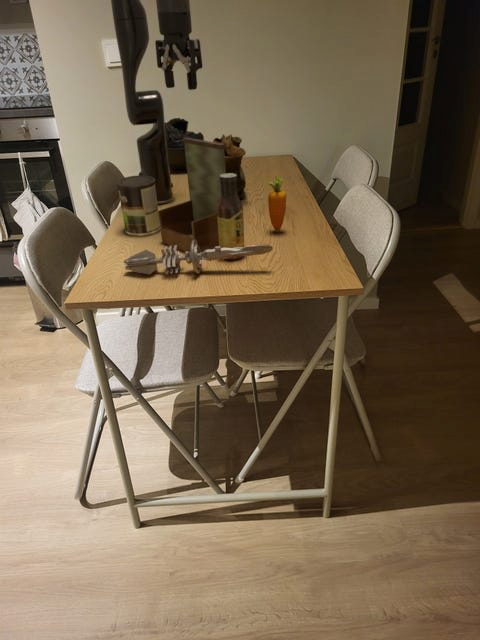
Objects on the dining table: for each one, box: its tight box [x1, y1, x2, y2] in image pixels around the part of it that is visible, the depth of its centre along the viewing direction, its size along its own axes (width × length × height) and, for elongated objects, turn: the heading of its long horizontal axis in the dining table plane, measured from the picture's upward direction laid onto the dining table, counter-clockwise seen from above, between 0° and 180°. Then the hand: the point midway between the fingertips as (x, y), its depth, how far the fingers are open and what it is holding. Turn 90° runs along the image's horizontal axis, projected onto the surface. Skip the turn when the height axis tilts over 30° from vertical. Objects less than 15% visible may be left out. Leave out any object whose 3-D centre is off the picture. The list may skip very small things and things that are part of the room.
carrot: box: [267, 175, 287, 233], centre depth 126 cm, size 5×5×15 cm
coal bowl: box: [165, 117, 205, 170], centre depth 187 cm, size 20×20×19 cm
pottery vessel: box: [212, 134, 247, 199], centre depth 153 cm, size 25×11×20 cm, turn 3°
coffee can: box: [116, 174, 161, 237], centre depth 132 cm, size 10×10×14 cm
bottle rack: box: [158, 138, 226, 253], centre depth 119 cm, size 14×12×25 cm
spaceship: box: [123, 239, 274, 276], centre depth 109 cm, size 8×35×8 cm
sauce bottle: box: [217, 173, 245, 261], centre depth 113 cm, size 7×6×20 cm
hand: (181, 88), depth 117 cm, fingers open, 8 cm apart
